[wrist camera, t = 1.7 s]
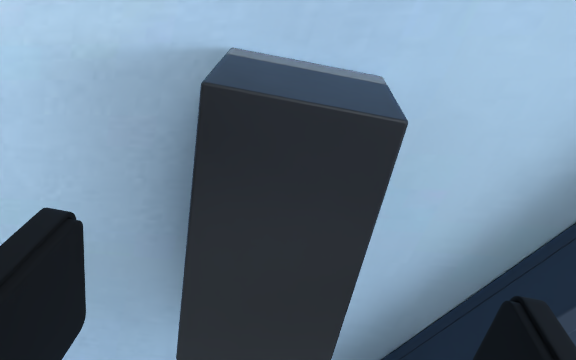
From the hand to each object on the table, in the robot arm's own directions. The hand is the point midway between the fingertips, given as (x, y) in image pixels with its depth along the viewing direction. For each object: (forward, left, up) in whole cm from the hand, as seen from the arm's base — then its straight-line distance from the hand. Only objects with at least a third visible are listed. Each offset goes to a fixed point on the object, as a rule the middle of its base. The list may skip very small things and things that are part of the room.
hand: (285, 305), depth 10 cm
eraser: (-1, 0, -5) cm, 5 cm away
